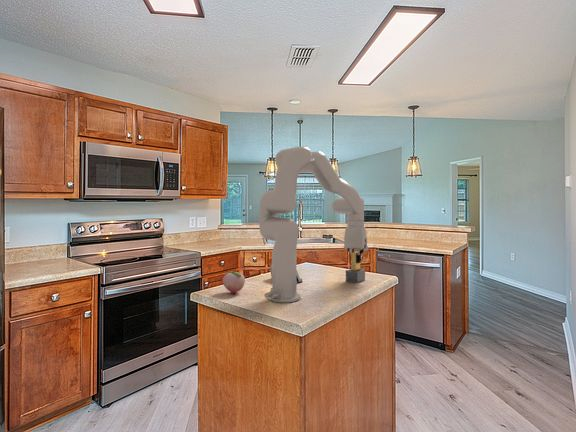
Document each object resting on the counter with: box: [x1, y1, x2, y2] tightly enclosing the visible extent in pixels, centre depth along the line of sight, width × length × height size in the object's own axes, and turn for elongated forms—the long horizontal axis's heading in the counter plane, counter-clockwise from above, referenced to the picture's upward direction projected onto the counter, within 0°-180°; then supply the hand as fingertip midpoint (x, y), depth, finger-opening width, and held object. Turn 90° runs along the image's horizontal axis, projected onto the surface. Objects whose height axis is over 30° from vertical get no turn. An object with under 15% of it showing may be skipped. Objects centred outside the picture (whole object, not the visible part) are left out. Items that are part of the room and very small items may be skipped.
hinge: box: [269, 264, 304, 283], centre depth 161 cm, size 17×5×10 cm, turn 45°
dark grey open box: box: [345, 268, 366, 284], centre depth 160 cm, size 8×6×5 cm
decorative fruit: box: [222, 268, 246, 294], centre depth 140 cm, size 9×8×10 cm
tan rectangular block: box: [350, 250, 361, 271], centre depth 160 cm, size 4×2×10 cm, turn 141°
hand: (355, 262), depth 160 cm, fingers closed on tan rectangular block, 2 cm apart
